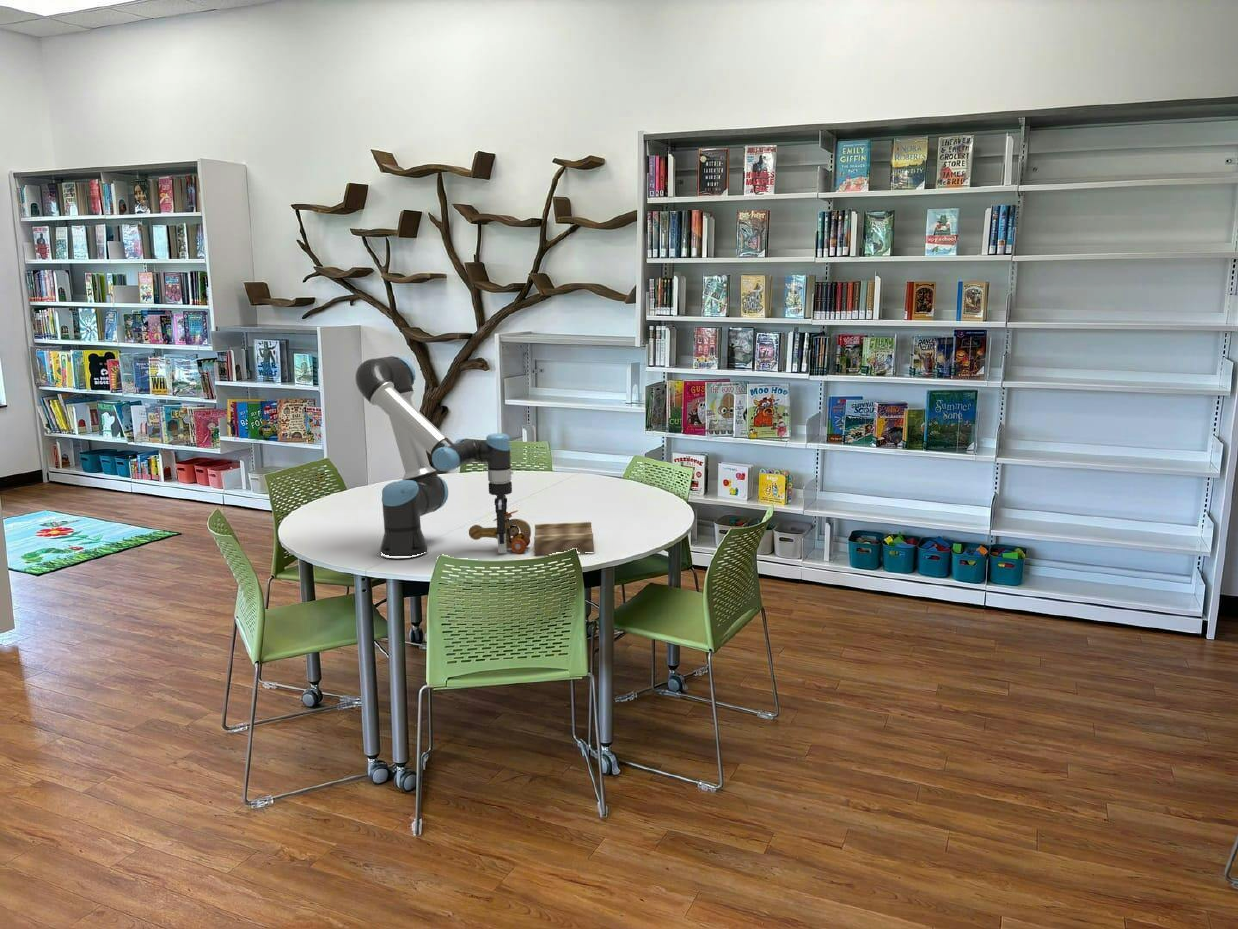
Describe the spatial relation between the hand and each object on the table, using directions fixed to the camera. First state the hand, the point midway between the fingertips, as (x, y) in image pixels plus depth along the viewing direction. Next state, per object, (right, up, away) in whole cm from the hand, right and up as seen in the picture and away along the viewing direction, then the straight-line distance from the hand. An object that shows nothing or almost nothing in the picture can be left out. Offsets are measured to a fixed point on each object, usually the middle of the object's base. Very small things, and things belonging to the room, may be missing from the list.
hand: (503, 549), depth 309 cm
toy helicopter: (0, 0, +1) cm, 1 cm away
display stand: (+20, 0, +1) cm, 20 cm away
